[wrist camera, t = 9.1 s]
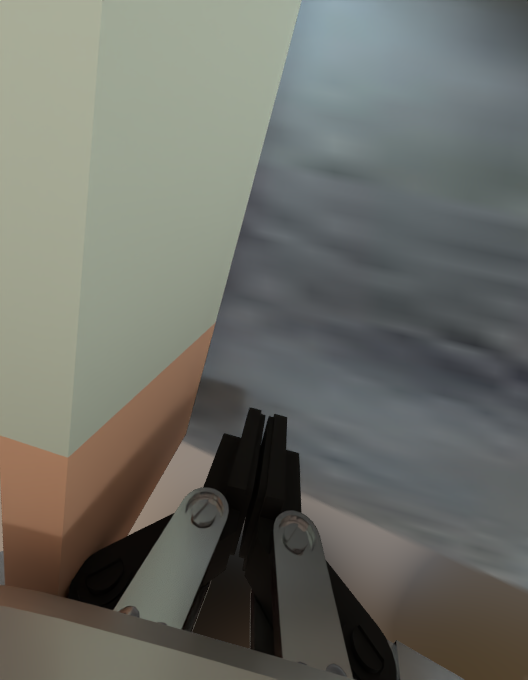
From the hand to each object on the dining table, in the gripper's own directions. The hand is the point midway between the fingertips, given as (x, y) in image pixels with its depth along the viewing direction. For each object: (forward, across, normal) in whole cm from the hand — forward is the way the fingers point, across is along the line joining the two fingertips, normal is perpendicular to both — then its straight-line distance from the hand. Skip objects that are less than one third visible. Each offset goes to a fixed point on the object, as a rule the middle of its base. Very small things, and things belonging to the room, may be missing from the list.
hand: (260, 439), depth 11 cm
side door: (+1, +3, -10) cm, 10 cm away
